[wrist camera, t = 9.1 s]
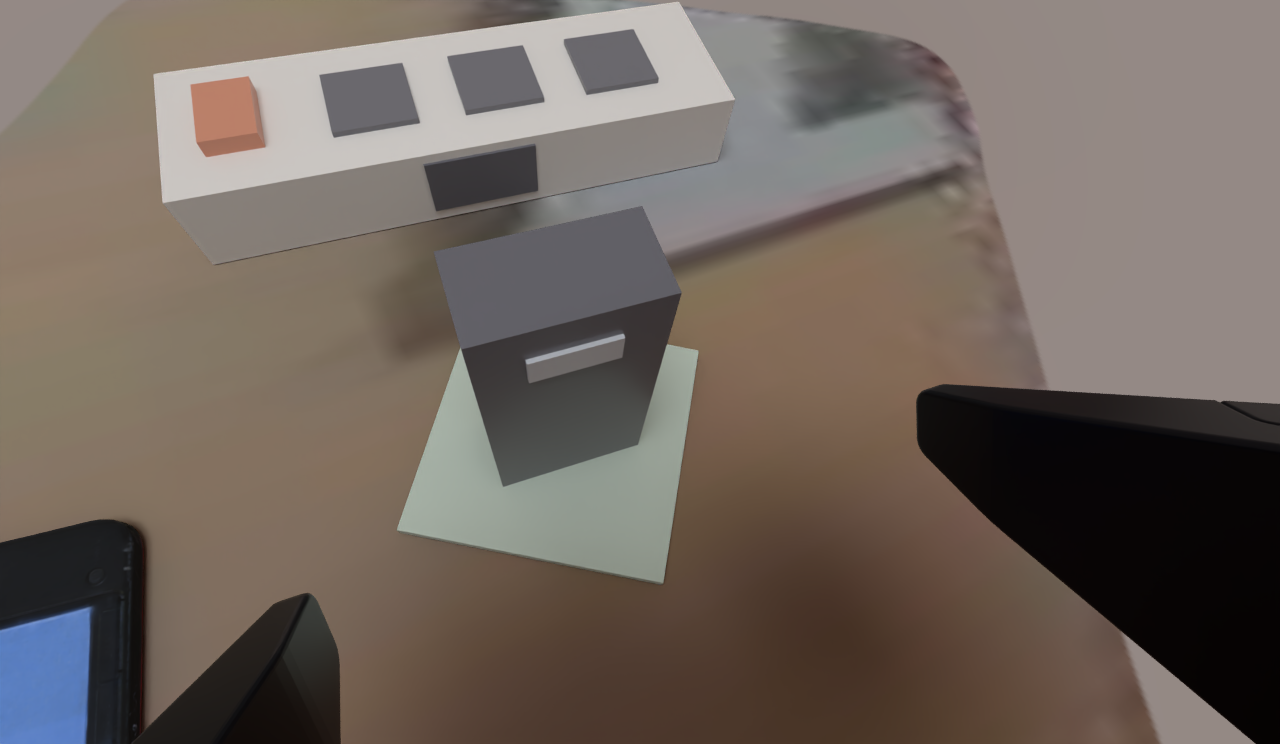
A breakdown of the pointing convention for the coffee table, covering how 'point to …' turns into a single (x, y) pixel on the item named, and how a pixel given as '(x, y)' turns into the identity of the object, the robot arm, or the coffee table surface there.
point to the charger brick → (562, 336)
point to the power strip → (432, 127)
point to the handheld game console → (72, 635)
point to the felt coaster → (557, 487)
